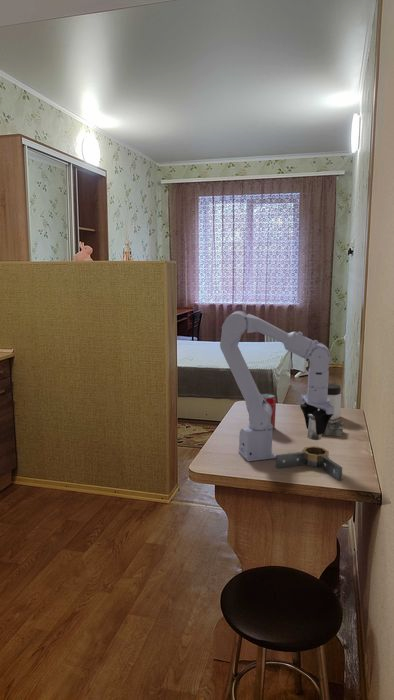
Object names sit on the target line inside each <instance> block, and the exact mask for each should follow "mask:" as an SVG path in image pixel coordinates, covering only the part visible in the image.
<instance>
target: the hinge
mask: <svg viewBox="0 0 394 700" xmlns="http://www.w3.org/2000/svg"><path fill="white" fill-rule="evenodd" d="M275 455H276V458H275V468H276V469H283V468H290V467H299V466H307V467H310V468H316V469H319V468H320V469H322V470H323V471H324V472H326V473H327V474H329V475H330V476H331V477H333V478H334V479H335V480H337V481H342V478H343V467H342V466H341V465H339V464H338V463H337V462H335V461H333V460H332V459H330V458H329V455H330V451H329V450H327V449H326V448H324V447H320V446H311V445H310V446H306V447H303V448H302V450H301V451H299V452H290V453H282V454H281V453H280V454H275Z"/></svg>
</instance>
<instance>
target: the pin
mask: <svg viewBox="0 0 394 700" xmlns="http://www.w3.org/2000/svg"><path fill="white" fill-rule="evenodd" d="M308 417H309V425H308V429H307V438H308V439H309V440H313V441H319V440H321V439H322V435H323V434H321V435H318V434H317V433H316V421H315V416H314V414H313V411H311V412H308Z"/></svg>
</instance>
